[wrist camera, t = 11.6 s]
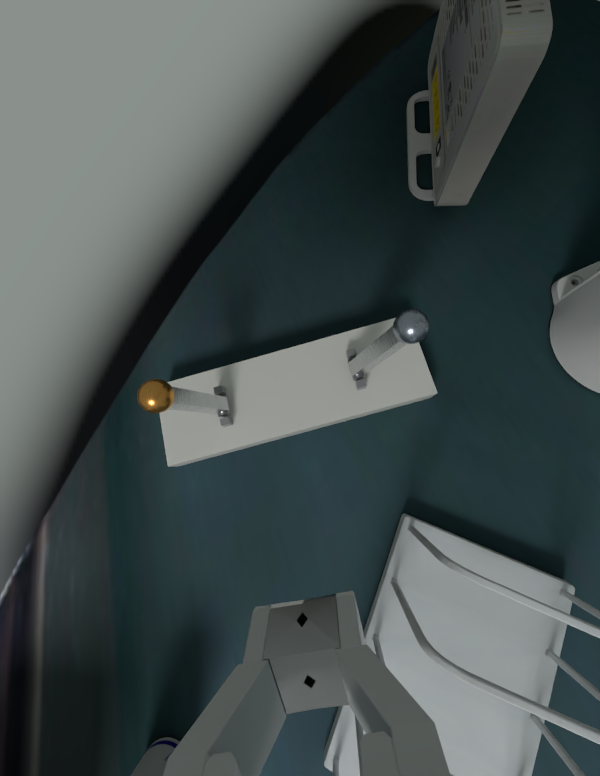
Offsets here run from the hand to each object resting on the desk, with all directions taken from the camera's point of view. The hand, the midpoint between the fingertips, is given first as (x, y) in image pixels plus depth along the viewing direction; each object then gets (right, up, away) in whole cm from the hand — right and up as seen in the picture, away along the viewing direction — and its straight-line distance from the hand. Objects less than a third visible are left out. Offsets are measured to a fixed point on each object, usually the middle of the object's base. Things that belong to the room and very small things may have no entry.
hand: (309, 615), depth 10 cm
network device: (+20, +42, +38) cm, 60 cm away
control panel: (-1, +6, +32) cm, 33 cm away
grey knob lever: (+6, +9, +28) cm, 30 cm away
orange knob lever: (-9, +5, +28) cm, 30 cm away
